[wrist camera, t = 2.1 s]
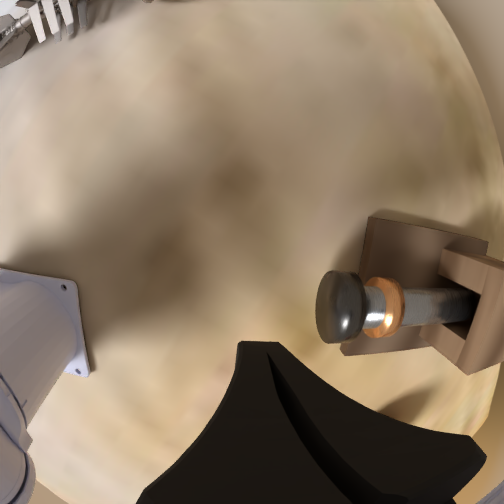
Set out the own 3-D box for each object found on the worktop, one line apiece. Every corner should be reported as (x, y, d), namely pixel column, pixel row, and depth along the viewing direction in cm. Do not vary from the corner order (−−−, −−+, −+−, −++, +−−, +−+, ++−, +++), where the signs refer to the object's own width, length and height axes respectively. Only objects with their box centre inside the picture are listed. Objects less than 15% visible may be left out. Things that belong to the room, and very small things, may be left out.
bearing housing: (339, 349, 20) (386, 412, 12) (368, 216, 18) (446, 237, 10) (454, 336, 22) (502, 371, 14) (481, 239, 20) (540, 258, 12)
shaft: (311, 323, 17) (334, 357, 13) (322, 262, 16) (352, 284, 12) (441, 318, 19) (471, 339, 15) (454, 272, 18) (488, 288, 14)
